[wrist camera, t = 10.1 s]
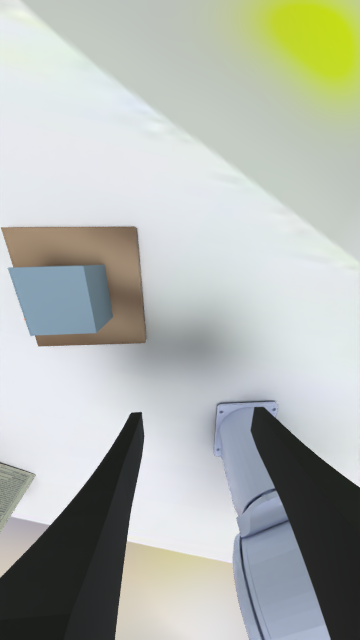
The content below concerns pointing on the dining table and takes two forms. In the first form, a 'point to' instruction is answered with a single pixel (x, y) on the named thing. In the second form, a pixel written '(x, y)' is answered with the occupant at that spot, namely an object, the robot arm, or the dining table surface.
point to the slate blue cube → (63, 298)
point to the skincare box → (11, 490)
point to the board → (89, 249)
